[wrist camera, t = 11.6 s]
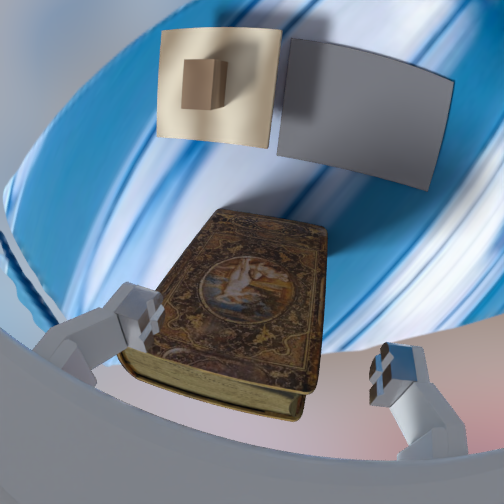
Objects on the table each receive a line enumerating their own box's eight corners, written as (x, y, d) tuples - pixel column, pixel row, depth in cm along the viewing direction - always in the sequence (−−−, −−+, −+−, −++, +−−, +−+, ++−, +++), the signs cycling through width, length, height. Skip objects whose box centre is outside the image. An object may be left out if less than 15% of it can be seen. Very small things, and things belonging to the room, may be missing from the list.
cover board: (282, 31, 23) (275, 21, 19) (268, 147, 30) (259, 158, 26) (165, 31, 24) (142, 26, 20) (160, 135, 32) (138, 144, 28)
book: (211, 240, 44) (125, 374, 24) (210, 207, 41) (109, 338, 21) (320, 259, 42) (302, 423, 21) (327, 226, 39) (318, 394, 18)
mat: (452, 82, 24) (453, 82, 24) (426, 190, 32) (427, 191, 32) (291, 38, 27) (291, 38, 26) (277, 154, 35) (276, 155, 35)
